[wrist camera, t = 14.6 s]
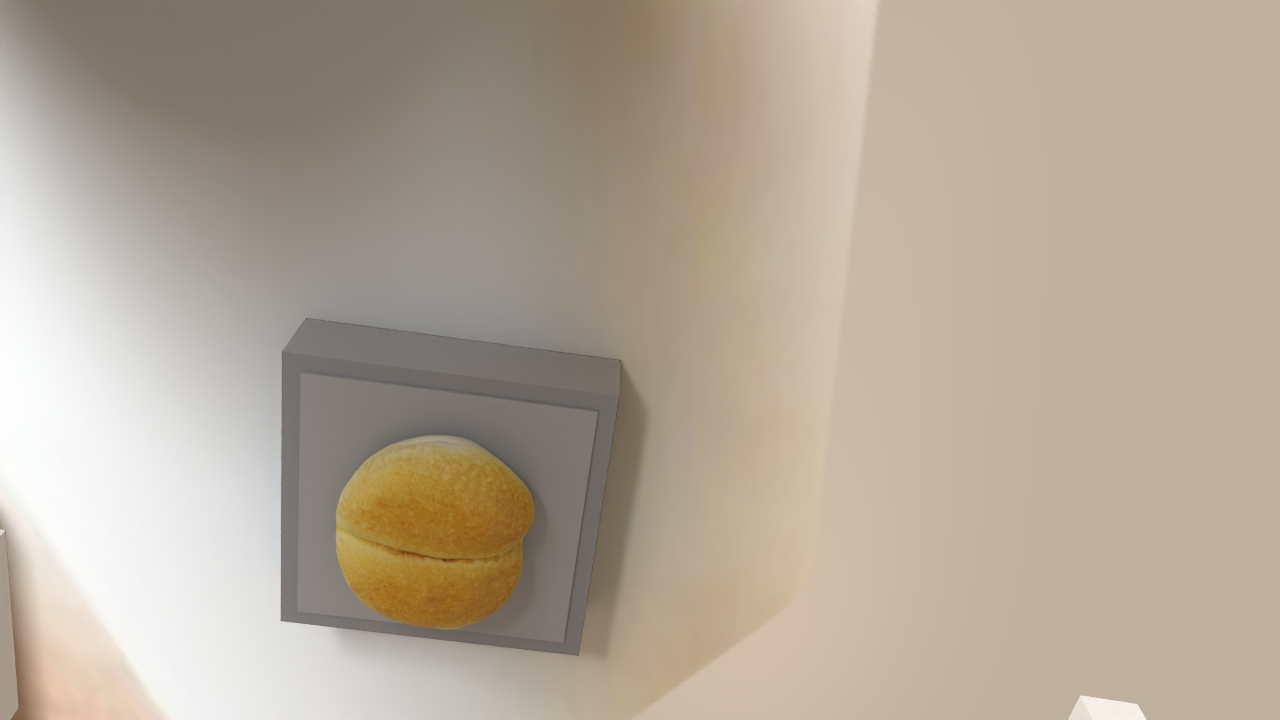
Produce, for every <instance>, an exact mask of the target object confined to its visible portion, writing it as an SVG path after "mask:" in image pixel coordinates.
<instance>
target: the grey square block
mask: <svg viewBox="0 0 1280 720" xmlns="http://www.w3.org/2000/svg"><path fill="white" fill-rule="evenodd" d="M620 369H621V361H620V360H613V359H605V358H598V357H591V356H583V355H576V354H568V353H561V352H553V351H546V350H538V349H531V348H524V347H516V346H509V345H501V344H494V343H486V342H479V341H471V340H464V339H456V338H449V337H442V336H434V335H427V334H419V333H412V332H404V331H397V330H389V329H382V328H375V327H367V326H360V325H352V324H345V323H337V322H330V321H322V320H315V319H307V318H306V320H305V321H304V322H303V324H302V325H301V326H300V328H299V329H298V331H297V332H296V333H295V335H294V336H293V337H292V339H291V340H290V342H289V343H288V344H287V346H286V347H285V348H284V350H283V351H282V478H281V621H285V622H294V623H302V624H311V625H320V626H328V627H337V628H345V629H354V630H362V631H371V632H380V633H388V634H397V635H405V636H414V637H423V638H431V639H440V640H448V641H457V642H466V643H474V644H483V645H491V646H500V647H508V648H517V649H526V650H534V651H543V652H551V653H560V654H569V655H577V656H579V650H580V643H581V637H582V631H583V624H584V618H585V612H586V605H587V599H588V593H589V586H590V580H591V573H592V567H593V561H594V554H595V548H596V542H597V535H598V529H599V523H600V516H601V510H602V504H603V497H604V491H605V485H606V478H607V472H608V466H609V459H610V453H611V447H612V440H613V434H614V427H615V421H616V415H617V408H618V402H619V394H620ZM427 435H449V436H456V437H461V438H465V439H469V440H471V441H473V442H475V443H477V444H478V445H480V446H481V447H483V448H484V449H486V450H488V451H489V452H490V453H491V454H493V455H494V456H495V457H497V458H498V459H500V460H501V461H502V462H503V463H504V464H505V465H506V466H508V467H509V468H510V469H511V470H512V471H513V472H514V473H515V474H516V475H517V476H518V477H519V478H520V479H521V480H522V481H523V482H524V483H525V485H526V486H527V488H528V490H529V491H530V493H531V495H532V498H533V502H534V520H533V523H532V526H531V528H530V529H529V531H528V532H527V534H526V535H525V536H524V538H523V542H522V552H523V565H522V571H521V575H520V579H519V581H518V583H517V586H516V588H515V590H514V592H513V593H512V595H511V596H510V597H509V599H508V600H507V601H506V603H505V604H504V605H503V606H502V607H501V608H500V609H499V610H498V611H496V612H495V613H494V614H492V615H490V616H488V617H487V618H485V619H483V620H481V621H479V622H477V623H473V624H470V625H467V626H463V627H460V628H456V629H449V630H442V629H438V628H427V627H417V626H412V625H407V624H404V623H401V622H398V621H394V620H392V619H389V618H387V617H385V616H383V615H381V614H379V613H377V612H375V611H373V610H372V609H370V608H369V607H368V606H366V605H365V604H363V603H362V602H361V601H360V599H359V598H358V597H357V596H356V595H355V593H354V592H353V591H352V589H351V588H350V586H349V585H348V584H347V582H346V580H345V578H344V575H343V572H342V570H341V567H340V564H339V562H338V557H337V552H336V511H337V506H338V502H339V498H340V495H341V493H342V491H343V489H344V488H345V486H346V484H347V483H348V482H349V480H350V479H351V477H352V476H353V475H354V473H355V471H357V470H358V469H359V467H360V466H361V465H362V464H363V463H364V462H365V461H366V460H367V459H368V458H369V457H371V456H372V455H373V454H375V453H377V452H378V451H380V450H382V449H383V448H385V447H387V446H389V445H391V444H394V443H397V442H400V441H403V440H406V439H411V438H415V437H420V436H427Z"/></svg>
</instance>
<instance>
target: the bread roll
mask: <svg viewBox="0 0 1280 720" xmlns="http://www.w3.org/2000/svg"><path fill="white" fill-rule="evenodd" d="M533 520H534V502H533V498H532V495H531V493H530V491H529V490H528V488H527V486H526V485H525V483H524V482H523V481H522V480H521V479H520V478H519V477H518V476H517V475H516V474H515V473H514V472H513V471H512V470H511V469H510V468H509V467H508V466H506V465H505V464H504V463H503V462H502V461H501V460H500V459H498V458H497V457H495V456H494V455H493V454H491V453H490V452H489V451H488V450H486V449H484V448H483V447H481V446H480V445H478V444H477V443H475V442H473V441H471V440H469V439H465V438H461V437H456V436H449V435H427V436H420V437H415V438H411V439H406V440H403V441H400V442H397V443H394V444H391V445H389V446H387V447H385V448H383V449H382V450H380V451H378V452H377V453H375V454H373V455H372V456H371V457H369V458H368V459H367V460H366V461H365V462H364V463H363V464H362V465H361V466H360V467H359V469H358V470H357V471H355V473H354V475H353V476H352V477H351V479H350V480H349V482H348V483H347V484H346V486H345V488H344V489H343V491H342V493H341V495H340V498H339V502H338V506H337V511H336V552H337V557H338V562H339V564H340V567H341V570H342V572H343V575H344V578H345V580H346V582H347V584H348V585H349V586H350V588H351V589H352V591H353V592H354V593H355V595H356V596H357V597H358V598H359V599H360V601H361V602H362V603H363V604H365V605H366V606H368V607H369V608H370V609H372V610H373V611H375V612H377V613H379V614H381V615H383V616H385V617H387V618H389V619H392V620H394V621H398V622H401V623H404V624H407V625H412V626H417V627H427V628H438V629H442V630H449V629H456V628H460V627H463V626H467V625H470V624H473V623H477V622H479V621H481V620H483V619H485V618H487V617H488V616H490V615H492V614H494V613H495V612H496V611H498V610H499V609H500V608H501V607H502V606H503V605H504V604H505V603H506V601H507V600H508V599H509V597H510V596H511V595H512V593H513V592H514V590H515V588H516V586H517V583H518V581H519V579H520V575H521V571H522V565H523V552H522V542H523V538H524V536H525V535H526V534H527V532H528V531H529V529H530V528H531V526H532V523H533Z"/></svg>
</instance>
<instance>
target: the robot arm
mask: <svg viewBox="0 0 1280 720" xmlns="http://www.w3.org/2000/svg"><path fill="white" fill-rule="evenodd" d="M18 708H19V706H18V692H17V679H16V665H15V652H14V639H13V625H12V612H11V598H10V585H9V572H8V558H7V545H6V531H5V530H0V720H10V719H11V718H12V717H13V715H14V714H15V712H16V711H17V710H18ZM1068 720H1146V718H1145V717H1144V715H1143V713H1142V712H1141V710H1140V708H1139V706H1138V705H1137V704H1133V703H1126V702H1119V701H1113V700H1107V699H1100V698H1093V697H1087V696H1080V697H1079V700H1078V702H1077V703H1076V705H1075V707H1074V709H1073V711H1072V713H1071V715H1070V717H1069V719H1068Z"/></svg>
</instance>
